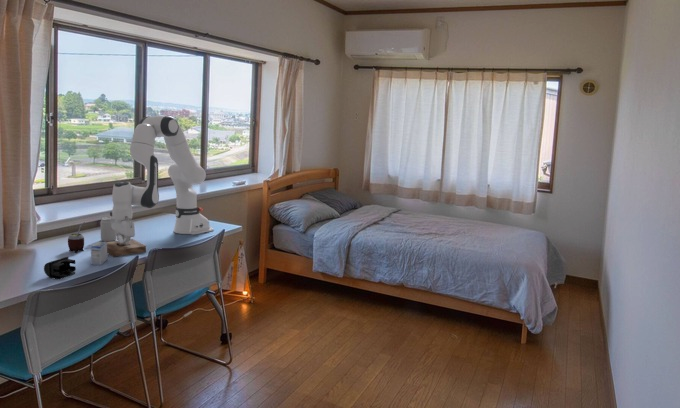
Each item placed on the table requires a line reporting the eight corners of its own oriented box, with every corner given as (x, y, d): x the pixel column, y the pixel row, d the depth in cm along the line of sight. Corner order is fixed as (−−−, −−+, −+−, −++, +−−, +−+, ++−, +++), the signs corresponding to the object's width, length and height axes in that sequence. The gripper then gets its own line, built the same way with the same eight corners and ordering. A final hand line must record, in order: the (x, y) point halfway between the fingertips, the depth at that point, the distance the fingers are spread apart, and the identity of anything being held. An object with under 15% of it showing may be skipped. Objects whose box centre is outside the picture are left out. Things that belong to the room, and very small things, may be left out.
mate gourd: (69, 249, 257) (67, 219, 254) (86, 248, 260) (86, 218, 257) (67, 253, 250) (66, 222, 247) (85, 252, 253) (84, 222, 250)
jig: (132, 244, 271) (132, 238, 271) (146, 251, 260) (146, 245, 260) (100, 248, 260) (100, 243, 260) (113, 256, 249) (112, 250, 249)
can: (110, 243, 271) (110, 220, 269) (97, 241, 273) (97, 218, 270) (119, 239, 279) (119, 217, 276) (106, 238, 280) (106, 216, 278)
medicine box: (97, 259, 244) (97, 241, 242) (107, 260, 244) (107, 241, 243) (91, 264, 236) (90, 246, 234) (101, 265, 236) (101, 246, 235)
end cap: (63, 270, 226) (62, 255, 225) (76, 273, 224) (76, 257, 223) (43, 277, 217) (43, 261, 216) (57, 280, 215) (57, 264, 214)
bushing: (125, 248, 263) (125, 233, 262) (128, 250, 260) (128, 234, 259) (117, 250, 260) (117, 234, 259) (120, 251, 257) (120, 236, 256)
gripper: (138, 218, 252) (138, 246, 254) (120, 210, 266) (121, 236, 269) (124, 219, 247) (125, 248, 250) (108, 211, 262) (108, 238, 264)
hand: (123, 242), depth 259 cm, fingers open, 8 cm apart
